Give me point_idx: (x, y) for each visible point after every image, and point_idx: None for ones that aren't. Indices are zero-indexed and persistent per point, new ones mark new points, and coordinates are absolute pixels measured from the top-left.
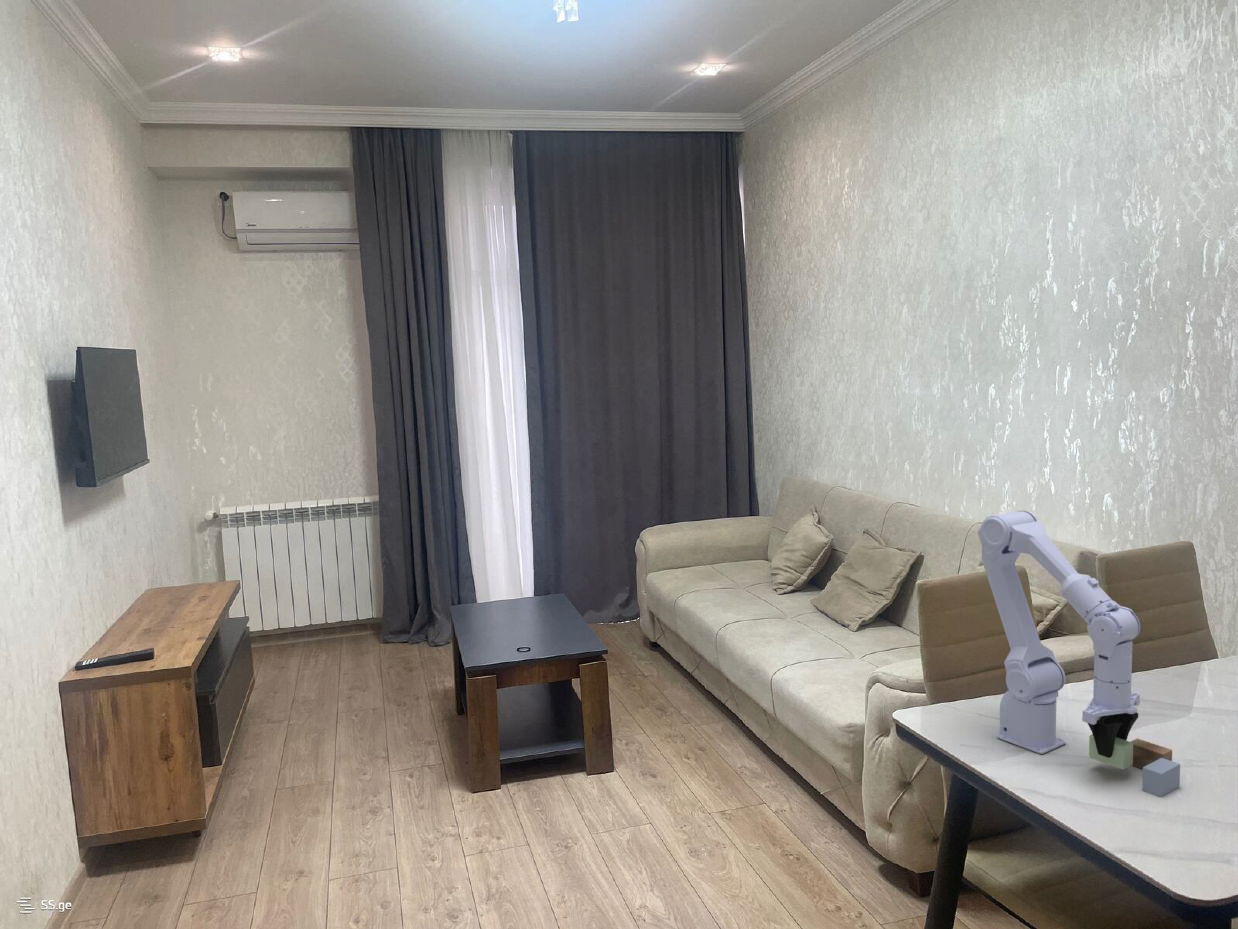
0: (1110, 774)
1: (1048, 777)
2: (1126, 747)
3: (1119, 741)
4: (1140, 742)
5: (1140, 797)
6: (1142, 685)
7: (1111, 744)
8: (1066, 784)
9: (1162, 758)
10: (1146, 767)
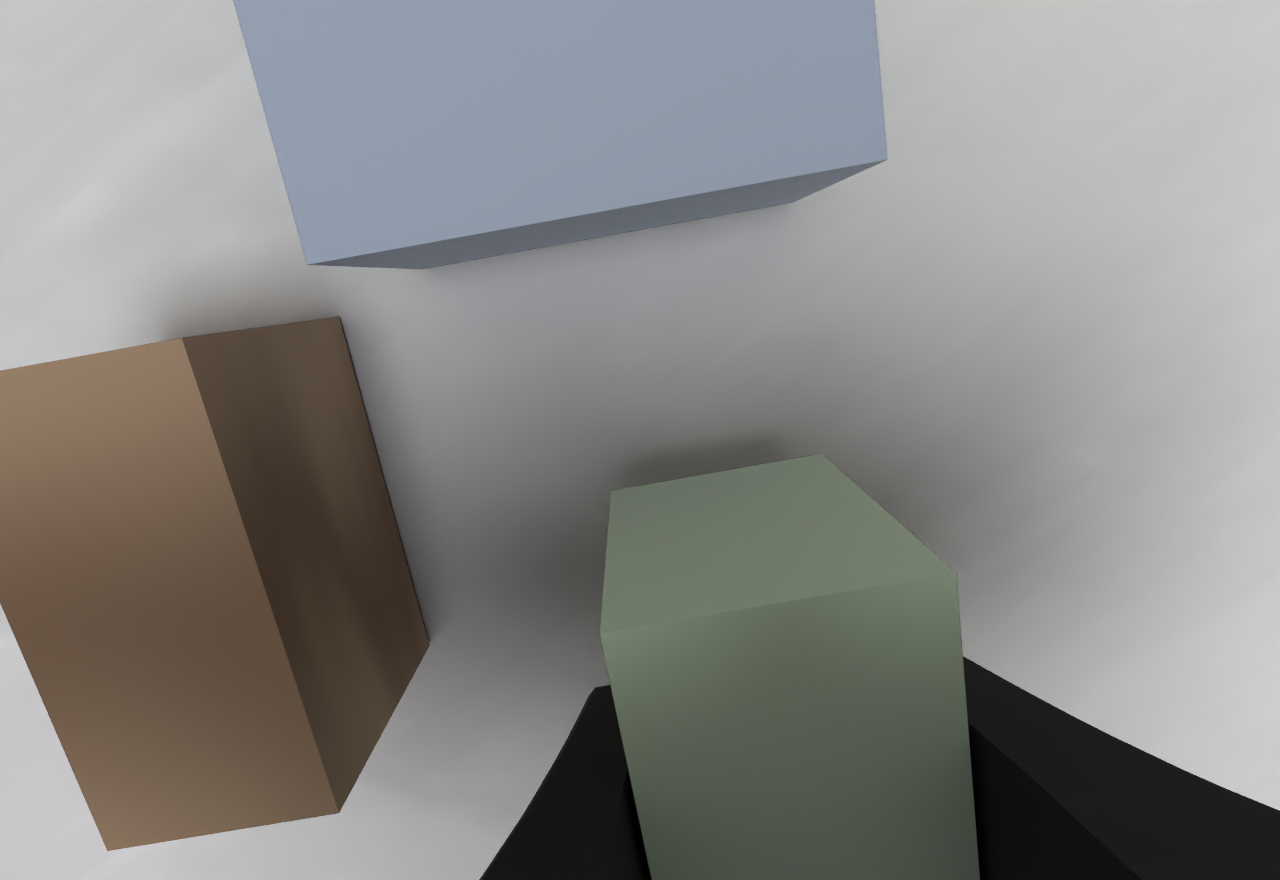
0: None
1: (1255, 759)
2: (848, 577)
3: (772, 781)
4: (166, 753)
5: (944, 103)
6: None
7: (1103, 736)
8: (1260, 609)
9: (312, 243)
10: (839, 128)
